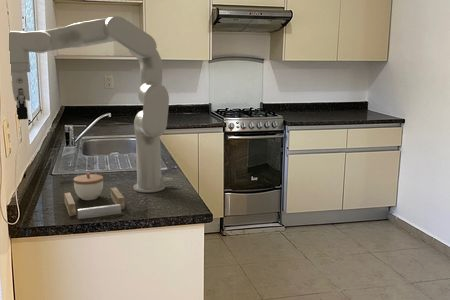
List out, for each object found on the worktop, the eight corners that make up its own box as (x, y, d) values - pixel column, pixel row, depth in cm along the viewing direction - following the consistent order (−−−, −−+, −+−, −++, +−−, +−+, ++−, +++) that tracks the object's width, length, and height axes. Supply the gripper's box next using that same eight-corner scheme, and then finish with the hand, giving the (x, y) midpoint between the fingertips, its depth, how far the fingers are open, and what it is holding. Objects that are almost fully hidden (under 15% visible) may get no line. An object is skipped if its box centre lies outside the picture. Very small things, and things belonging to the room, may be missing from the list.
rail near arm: (116, 197, 183) (115, 187, 183) (124, 208, 171) (124, 197, 170) (110, 198, 183) (110, 188, 182) (118, 209, 170) (118, 198, 169)
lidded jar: (73, 195, 186) (72, 171, 184) (102, 192, 190) (101, 169, 188) (75, 203, 177) (74, 178, 175) (105, 200, 180) (104, 175, 178)
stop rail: (120, 212, 167) (119, 203, 166) (121, 213, 166) (120, 205, 165) (77, 217, 162) (77, 209, 161) (78, 219, 160) (78, 210, 160)
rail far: (70, 203, 177) (70, 192, 176) (75, 214, 164) (75, 203, 164) (64, 203, 176) (64, 193, 175) (69, 215, 164) (68, 204, 163)
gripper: (31, 68, 162) (35, 120, 165) (28, 67, 177) (32, 113, 181) (6, 69, 159) (11, 121, 162) (6, 67, 174) (10, 114, 178)
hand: (22, 117), depth 171 cm, fingers open, 9 cm apart
